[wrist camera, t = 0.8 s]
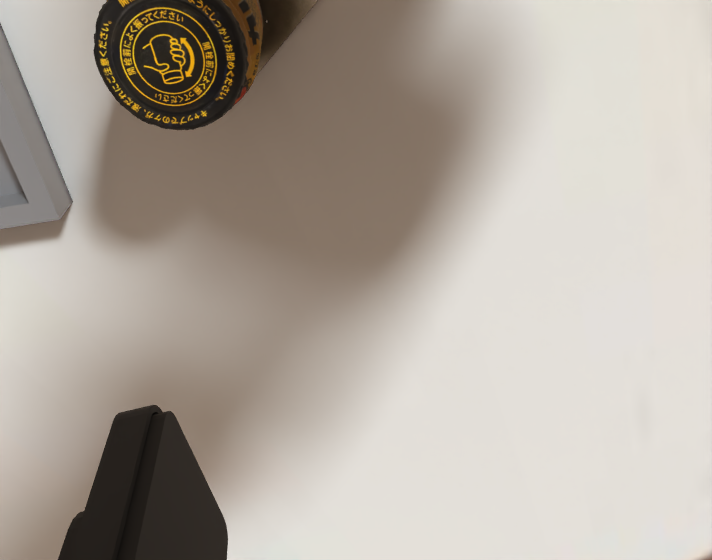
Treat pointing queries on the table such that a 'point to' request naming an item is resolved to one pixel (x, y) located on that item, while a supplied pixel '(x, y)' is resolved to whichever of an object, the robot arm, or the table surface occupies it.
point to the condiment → (188, 54)
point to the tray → (25, 155)
